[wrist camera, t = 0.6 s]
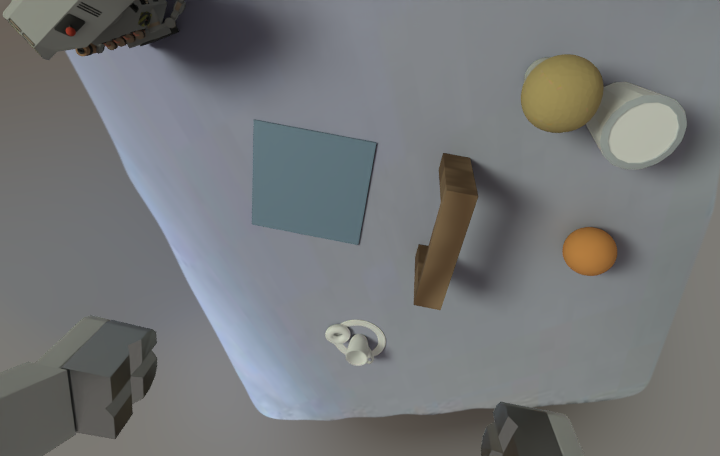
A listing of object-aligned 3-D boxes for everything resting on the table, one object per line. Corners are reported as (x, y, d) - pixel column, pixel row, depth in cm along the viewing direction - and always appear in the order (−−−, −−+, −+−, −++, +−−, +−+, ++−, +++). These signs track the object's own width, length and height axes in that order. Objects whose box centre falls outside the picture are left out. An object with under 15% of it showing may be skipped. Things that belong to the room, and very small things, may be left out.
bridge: (415, 256, 57) (413, 304, 49) (443, 152, 49) (446, 190, 41) (438, 261, 57) (440, 310, 49) (469, 157, 49) (478, 196, 41)
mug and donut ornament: (319, 326, 66) (313, 347, 63) (361, 306, 63) (358, 326, 60) (354, 362, 69) (350, 383, 66) (396, 344, 66) (394, 366, 63)
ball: (568, 214, 51) (582, 240, 46) (615, 223, 51) (634, 250, 46) (550, 252, 54) (561, 280, 49) (595, 261, 54) (611, 289, 49)
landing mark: (254, 119, 50) (253, 120, 50) (376, 142, 49) (376, 143, 49) (252, 223, 57) (251, 224, 57) (358, 244, 57) (358, 245, 57)
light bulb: (516, 39, 42) (539, 60, 34) (586, 43, 42) (627, 65, 33) (502, 105, 46) (520, 140, 37) (566, 110, 45) (599, 146, 37)
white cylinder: (614, 154, 47) (641, 183, 41) (562, 121, 46) (583, 146, 40) (668, 98, 43) (707, 121, 37) (614, 61, 42) (645, 78, 36)
